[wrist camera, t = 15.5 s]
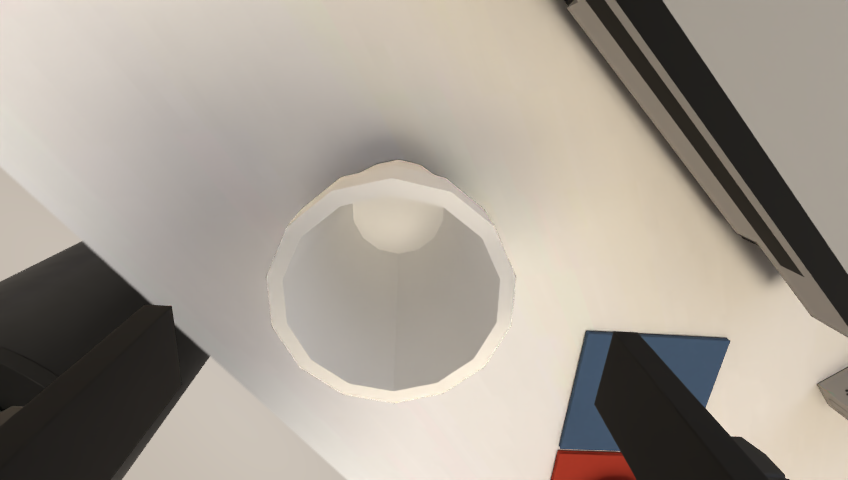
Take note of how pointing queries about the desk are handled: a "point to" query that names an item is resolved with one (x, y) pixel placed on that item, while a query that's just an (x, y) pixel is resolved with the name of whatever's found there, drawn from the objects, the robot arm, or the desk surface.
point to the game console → (750, 119)
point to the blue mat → (583, 423)
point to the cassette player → (836, 392)
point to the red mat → (591, 466)
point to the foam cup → (391, 285)
